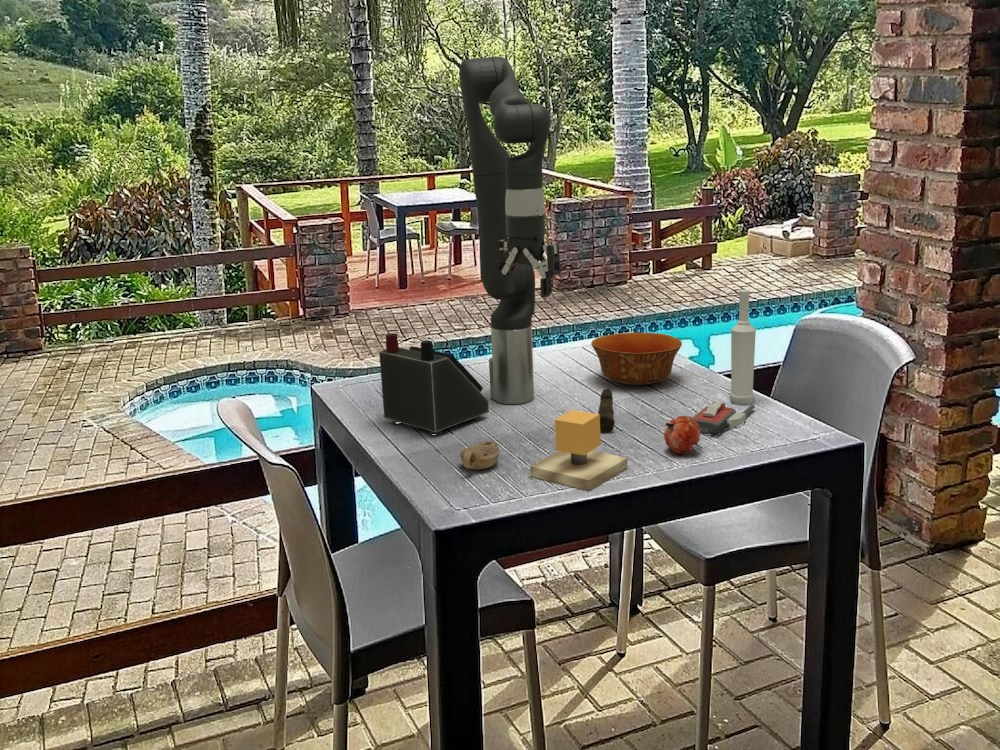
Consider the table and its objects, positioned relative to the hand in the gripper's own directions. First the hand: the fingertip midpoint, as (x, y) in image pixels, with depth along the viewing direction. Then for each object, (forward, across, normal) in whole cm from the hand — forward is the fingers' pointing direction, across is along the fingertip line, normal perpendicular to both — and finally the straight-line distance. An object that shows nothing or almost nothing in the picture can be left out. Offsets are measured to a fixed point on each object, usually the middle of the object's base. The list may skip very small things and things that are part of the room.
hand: (528, 294), depth 206 cm
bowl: (+30, -3, +46) cm, 55 cm away
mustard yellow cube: (+25, +18, -10) cm, 33 cm away
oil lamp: (+30, 0, -17) cm, 35 cm away
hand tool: (+31, +5, +19) cm, 36 cm away
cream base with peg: (+30, +18, -10) cm, 36 cm away
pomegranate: (+30, +29, +10) cm, 43 cm away
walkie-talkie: (+31, +28, +30) cm, 51 cm away
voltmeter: (+30, -25, -1) cm, 39 cm away
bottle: (+30, +25, +44) cm, 59 cm away
